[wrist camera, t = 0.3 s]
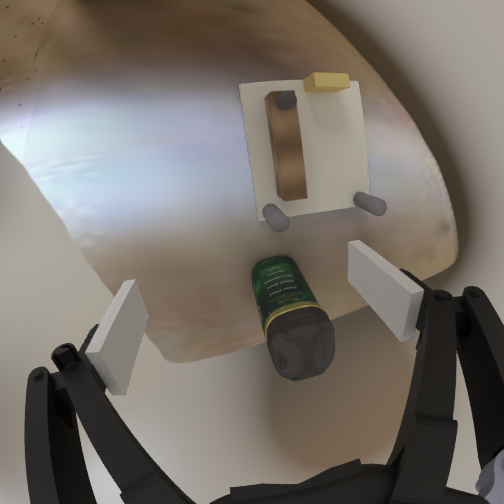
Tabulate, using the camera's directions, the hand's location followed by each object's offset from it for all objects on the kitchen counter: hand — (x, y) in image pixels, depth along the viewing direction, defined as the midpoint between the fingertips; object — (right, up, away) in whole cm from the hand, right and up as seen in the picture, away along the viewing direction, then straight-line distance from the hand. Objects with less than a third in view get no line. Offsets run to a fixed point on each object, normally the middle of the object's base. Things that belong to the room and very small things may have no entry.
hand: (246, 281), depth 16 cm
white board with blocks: (+9, +17, +22) cm, 29 cm away
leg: (+4, +16, +19) cm, 26 cm away
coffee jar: (+4, -3, +29) cm, 30 cm away
